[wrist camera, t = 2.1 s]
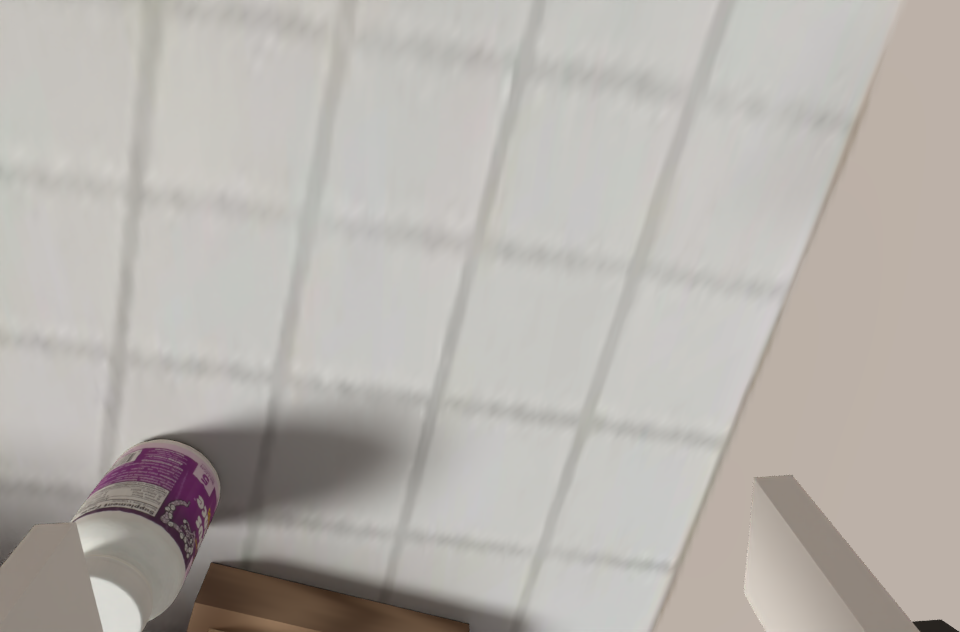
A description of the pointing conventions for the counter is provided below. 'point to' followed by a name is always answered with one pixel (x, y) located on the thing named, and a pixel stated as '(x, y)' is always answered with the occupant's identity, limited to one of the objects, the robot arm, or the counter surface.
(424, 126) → the counter surface
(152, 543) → the pill bottle
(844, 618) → the robot arm
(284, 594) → the display pedestal
